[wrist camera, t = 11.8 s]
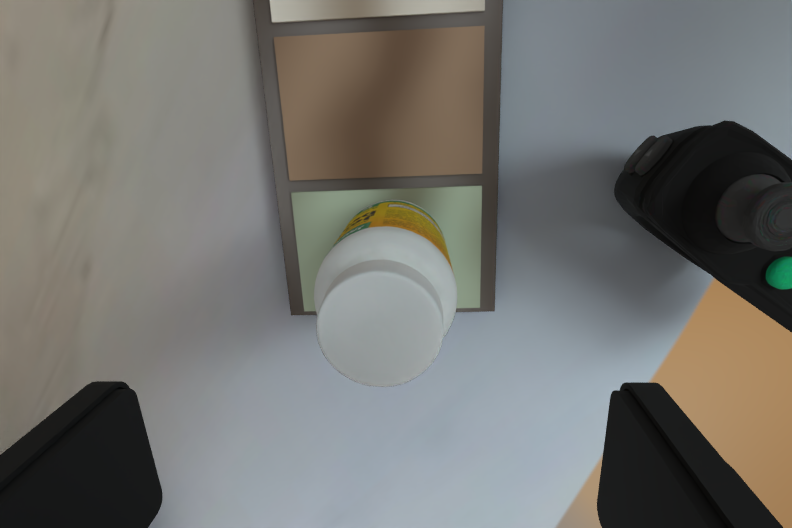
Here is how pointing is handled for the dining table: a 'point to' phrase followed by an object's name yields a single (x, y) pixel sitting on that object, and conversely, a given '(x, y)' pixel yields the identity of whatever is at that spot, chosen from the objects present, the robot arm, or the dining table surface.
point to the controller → (719, 208)
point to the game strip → (384, 126)
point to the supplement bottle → (385, 295)
